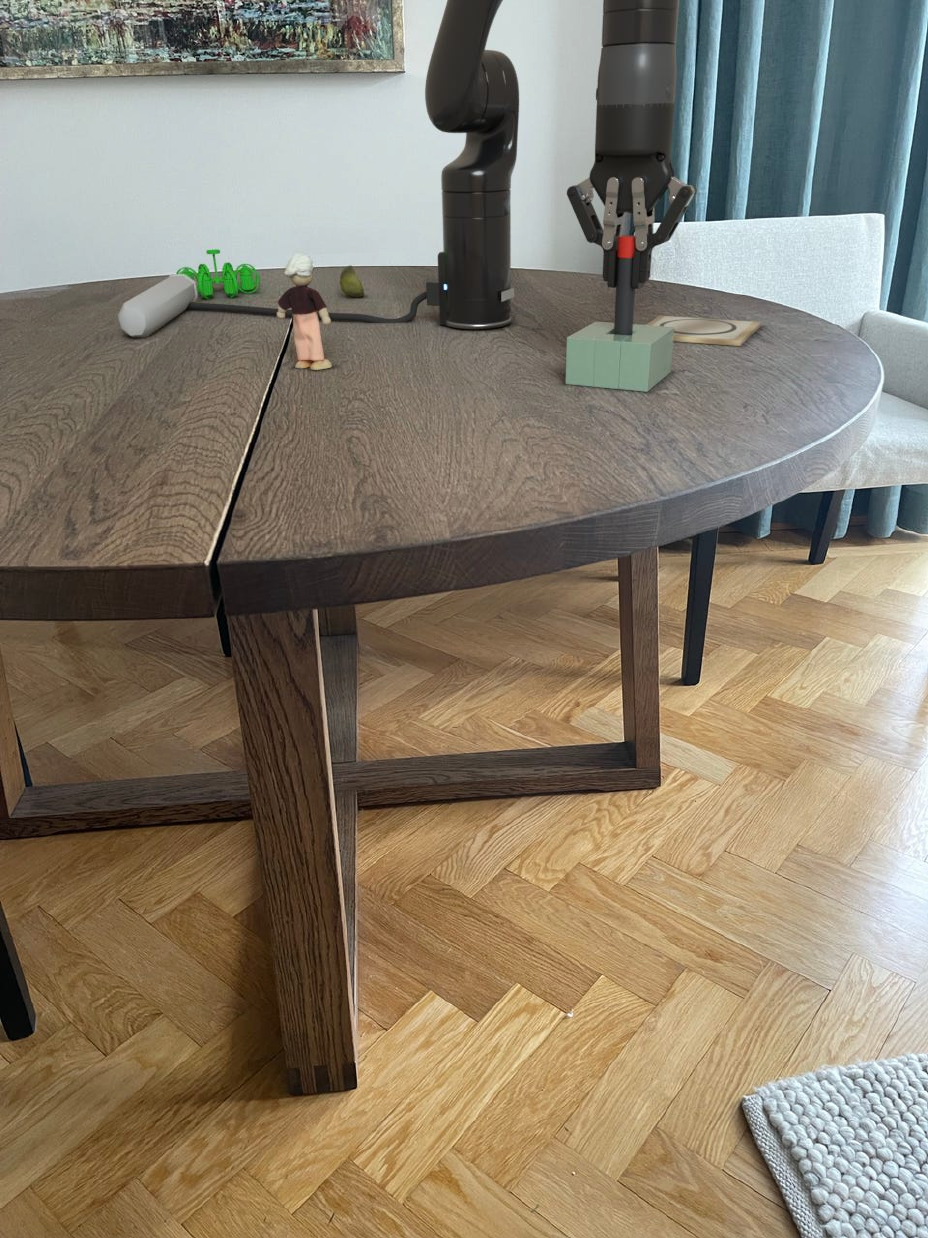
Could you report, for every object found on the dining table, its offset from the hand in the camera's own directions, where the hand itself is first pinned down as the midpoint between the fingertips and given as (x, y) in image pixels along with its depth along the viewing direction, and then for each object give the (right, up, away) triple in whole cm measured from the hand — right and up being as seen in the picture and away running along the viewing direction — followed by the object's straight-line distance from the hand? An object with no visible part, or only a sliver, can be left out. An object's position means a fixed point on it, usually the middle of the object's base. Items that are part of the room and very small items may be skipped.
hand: (625, 286), depth 99 cm
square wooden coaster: (+14, +3, +25) cm, 29 cm away
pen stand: (0, -9, +5) cm, 10 cm away
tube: (-62, +9, +40) cm, 74 cm away
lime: (-35, +18, +55) cm, 68 cm away
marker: (0, -6, +3) cm, 7 cm away
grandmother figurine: (-36, -5, +13) cm, 38 cm away
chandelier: (-59, +21, +62) cm, 88 cm away
